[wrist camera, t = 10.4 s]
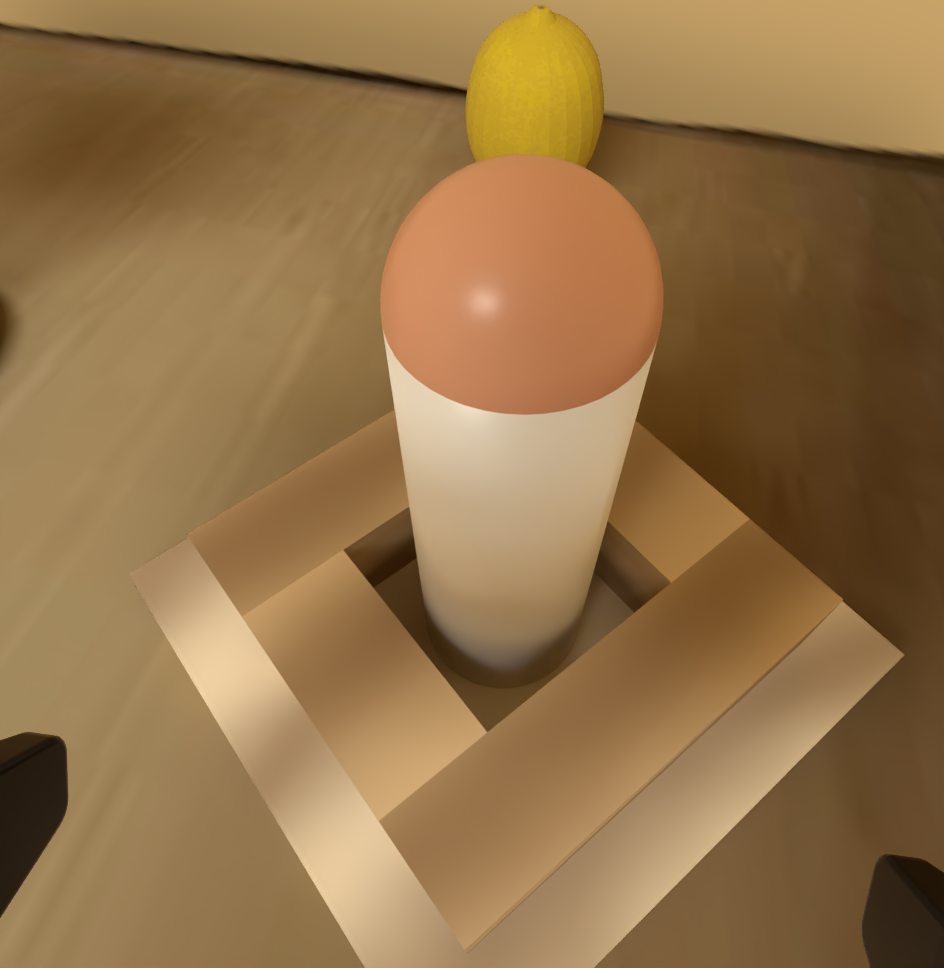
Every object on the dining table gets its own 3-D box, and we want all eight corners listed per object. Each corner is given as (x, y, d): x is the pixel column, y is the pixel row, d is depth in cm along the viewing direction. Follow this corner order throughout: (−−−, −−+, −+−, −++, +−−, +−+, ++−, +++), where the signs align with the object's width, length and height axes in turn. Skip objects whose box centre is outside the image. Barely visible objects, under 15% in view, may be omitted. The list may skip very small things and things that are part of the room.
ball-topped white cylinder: (599, 666, 21) (752, 260, 9) (445, 706, 21) (399, 327, 9) (551, 533, 23) (623, 73, 12) (412, 565, 23) (339, 116, 11)
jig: (888, 667, 22) (961, 611, 19) (452, 1104, 17) (445, 1136, 13) (529, 349, 29) (535, 267, 26) (140, 588, 24) (84, 524, 20)
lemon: (581, 246, 32) (607, 54, 26) (454, 229, 33) (448, 38, 26) (598, 168, 35) (625, -22, 28) (481, 154, 36) (481, -35, 29)
